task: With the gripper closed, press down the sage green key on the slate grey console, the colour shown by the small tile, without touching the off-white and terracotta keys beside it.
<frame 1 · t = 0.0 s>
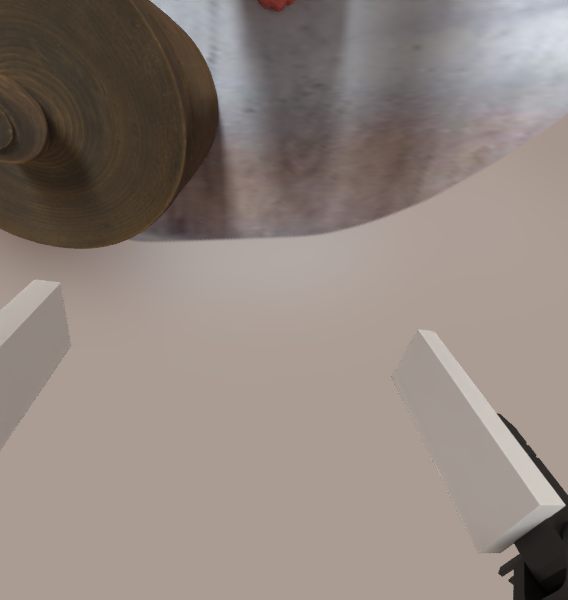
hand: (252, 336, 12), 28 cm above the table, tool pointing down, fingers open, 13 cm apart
wooden container: (140, 102, 31), on the table
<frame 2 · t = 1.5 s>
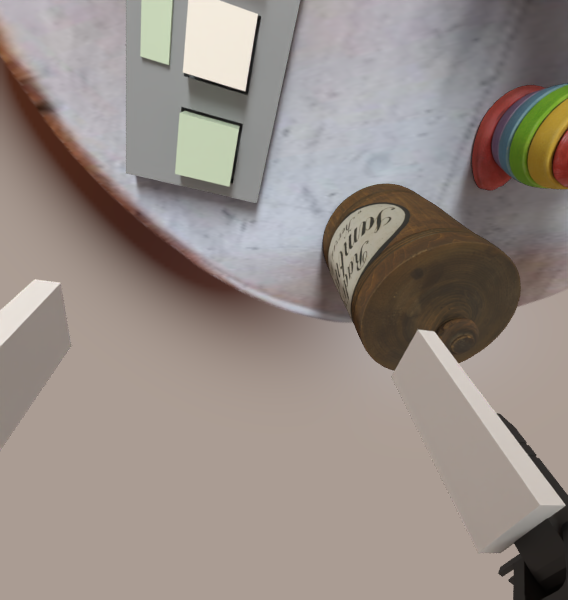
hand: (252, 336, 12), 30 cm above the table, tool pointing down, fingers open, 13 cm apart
off-white key: (220, 45, 28), point 4 cm above the table, slide at 0.0 cm
stacking bear: (511, 133, 38), on the table
wooden container: (374, 238, 44), on the table
sage green key: (207, 149, 32), point 4 cm above the table, slide at 0.0 cm
console: (213, 46, 31), on the table
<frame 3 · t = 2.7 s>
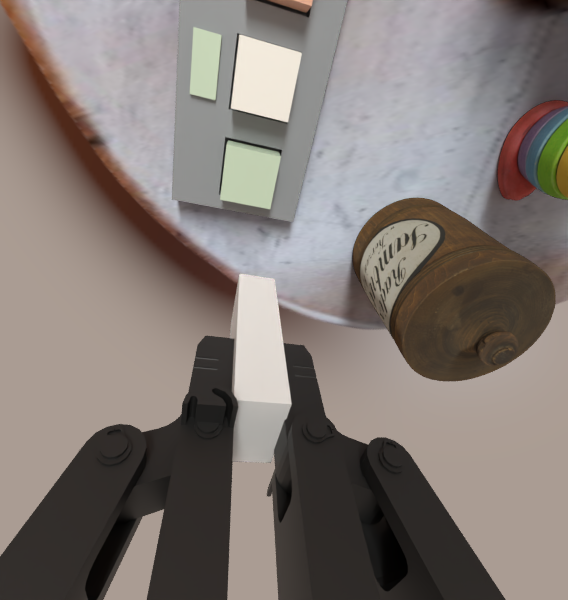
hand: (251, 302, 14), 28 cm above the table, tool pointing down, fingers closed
off-white key: (264, 81, 30), point 4 cm above the table, slide at 0.0 cm
stacking bear: (536, 146, 40), on the table
wooden container: (402, 249, 46), on the table
sage green key: (249, 175, 34), point 4 cm above the table, slide at 0.0 cm
console: (253, 79, 33), on the table
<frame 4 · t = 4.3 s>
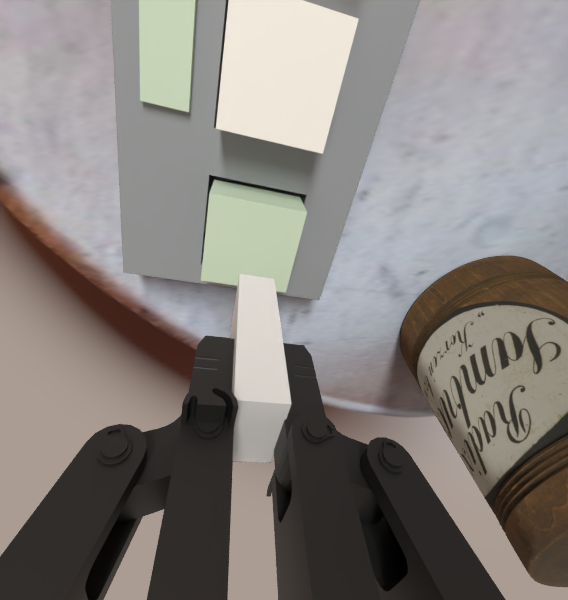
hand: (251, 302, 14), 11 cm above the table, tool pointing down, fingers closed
off-white key: (280, 77, 16), point 4 cm above the table, slide at 0.0 cm
wooden container: (471, 321, 32), on the table
sage green key: (251, 238, 20), point 4 cm above the table, slide at 0.0 cm
console: (258, 74, 19), on the table
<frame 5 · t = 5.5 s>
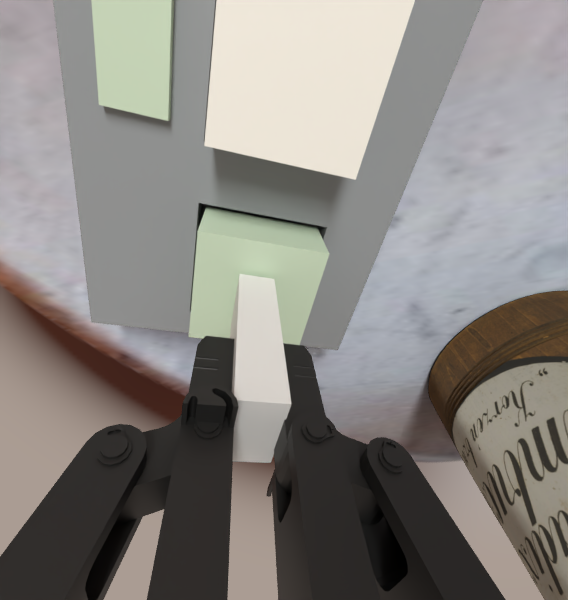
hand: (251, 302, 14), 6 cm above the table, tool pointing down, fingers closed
off-white key: (297, 72, 11), point 4 cm above the table, slide at 0.0 cm
wooden container: (512, 362, 27), on the table
sage green key: (254, 281, 16), point 4 cm above the table, slide at 0.2 cm, touching gripper
console: (264, 68, 14), on the table
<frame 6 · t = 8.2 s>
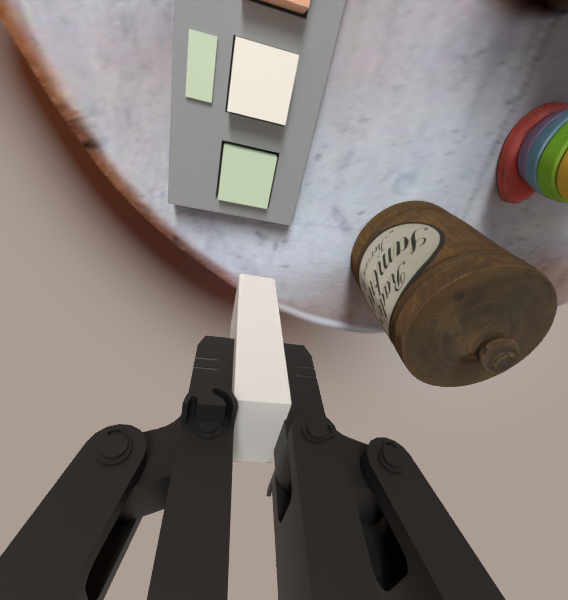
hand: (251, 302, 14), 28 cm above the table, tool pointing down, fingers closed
off-white key: (261, 83, 30), point 4 cm above the table, slide at 0.0 cm
stacking bear: (535, 148, 39), on the table
wooden container: (401, 252, 46), on the table
sage green key: (246, 175, 35), point 3 cm above the table, slide at 1.4 cm
console: (250, 81, 33), on the table
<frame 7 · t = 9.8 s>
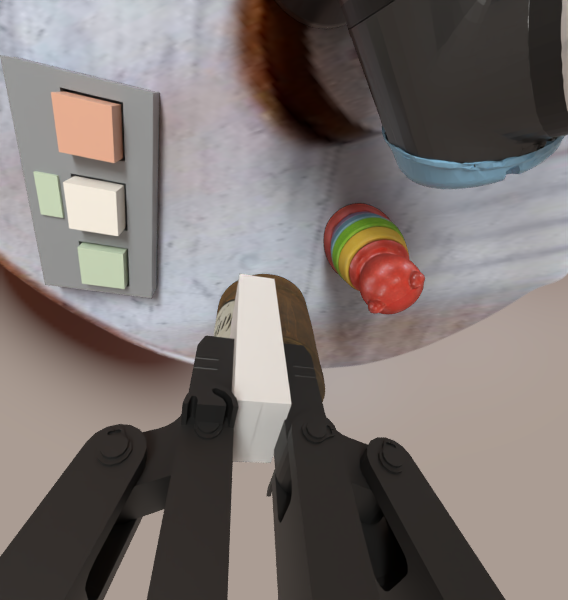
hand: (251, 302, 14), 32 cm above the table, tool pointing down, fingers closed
off-white key: (97, 206, 39), point 4 cm above the table, slide at 0.0 cm
stacking bear: (354, 234, 48), on the table
terracotta key: (90, 128, 34), point 4 cm above the table, slide at 0.0 cm
wooden container: (262, 311, 55), on the table
sage green key: (106, 264, 44), point 3 cm above the table, slide at 1.4 cm
console: (100, 195, 42), on the table
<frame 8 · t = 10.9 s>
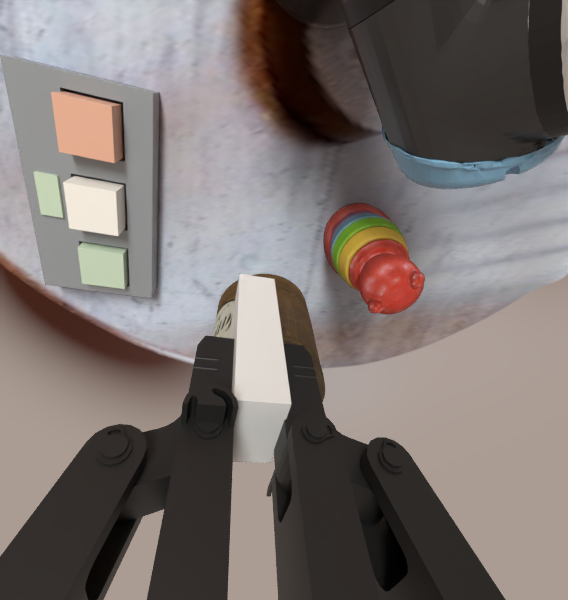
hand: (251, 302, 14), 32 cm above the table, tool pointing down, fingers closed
off-white key: (97, 206, 39), point 4 cm above the table, slide at 0.0 cm
stacking bear: (354, 234, 48), on the table
terracotta key: (90, 128, 34), point 4 cm above the table, slide at 0.0 cm
wooden container: (262, 311, 55), on the table
sage green key: (106, 263, 44), point 3 cm above the table, slide at 1.4 cm
console: (101, 195, 42), on the table
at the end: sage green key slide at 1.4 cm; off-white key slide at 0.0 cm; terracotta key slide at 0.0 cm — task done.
